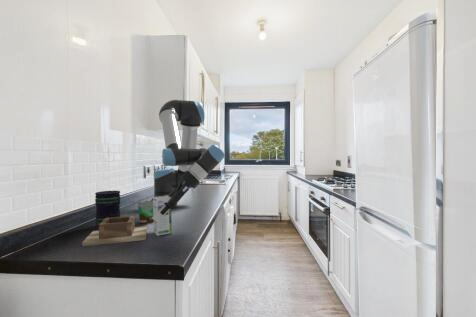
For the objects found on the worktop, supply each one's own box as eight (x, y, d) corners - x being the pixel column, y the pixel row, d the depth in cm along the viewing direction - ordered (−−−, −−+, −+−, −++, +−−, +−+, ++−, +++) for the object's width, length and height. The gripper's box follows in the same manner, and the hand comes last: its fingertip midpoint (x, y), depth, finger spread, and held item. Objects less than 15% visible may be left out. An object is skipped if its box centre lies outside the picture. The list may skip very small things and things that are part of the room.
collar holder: (93, 234, 95) (92, 218, 95) (147, 229, 101) (147, 214, 101) (82, 246, 82) (82, 227, 82) (145, 239, 88) (145, 222, 88)
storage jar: (92, 226, 107) (91, 192, 107) (115, 221, 115) (115, 189, 115) (100, 230, 101) (99, 194, 101) (124, 225, 108) (123, 191, 108)
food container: (150, 225, 107) (149, 202, 107) (137, 224, 109) (137, 202, 108) (164, 218, 119) (163, 198, 119) (152, 218, 121) (152, 197, 121)
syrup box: (157, 236, 92) (156, 198, 92) (153, 232, 97) (152, 196, 97) (171, 233, 95) (171, 196, 95) (167, 229, 100) (167, 194, 100)
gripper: (205, 185, 89) (162, 231, 85) (196, 179, 112) (162, 215, 108) (190, 171, 88) (145, 217, 83) (185, 168, 111) (149, 204, 106)
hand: (155, 216), depth 95 cm, fingers open, 11 cm apart
